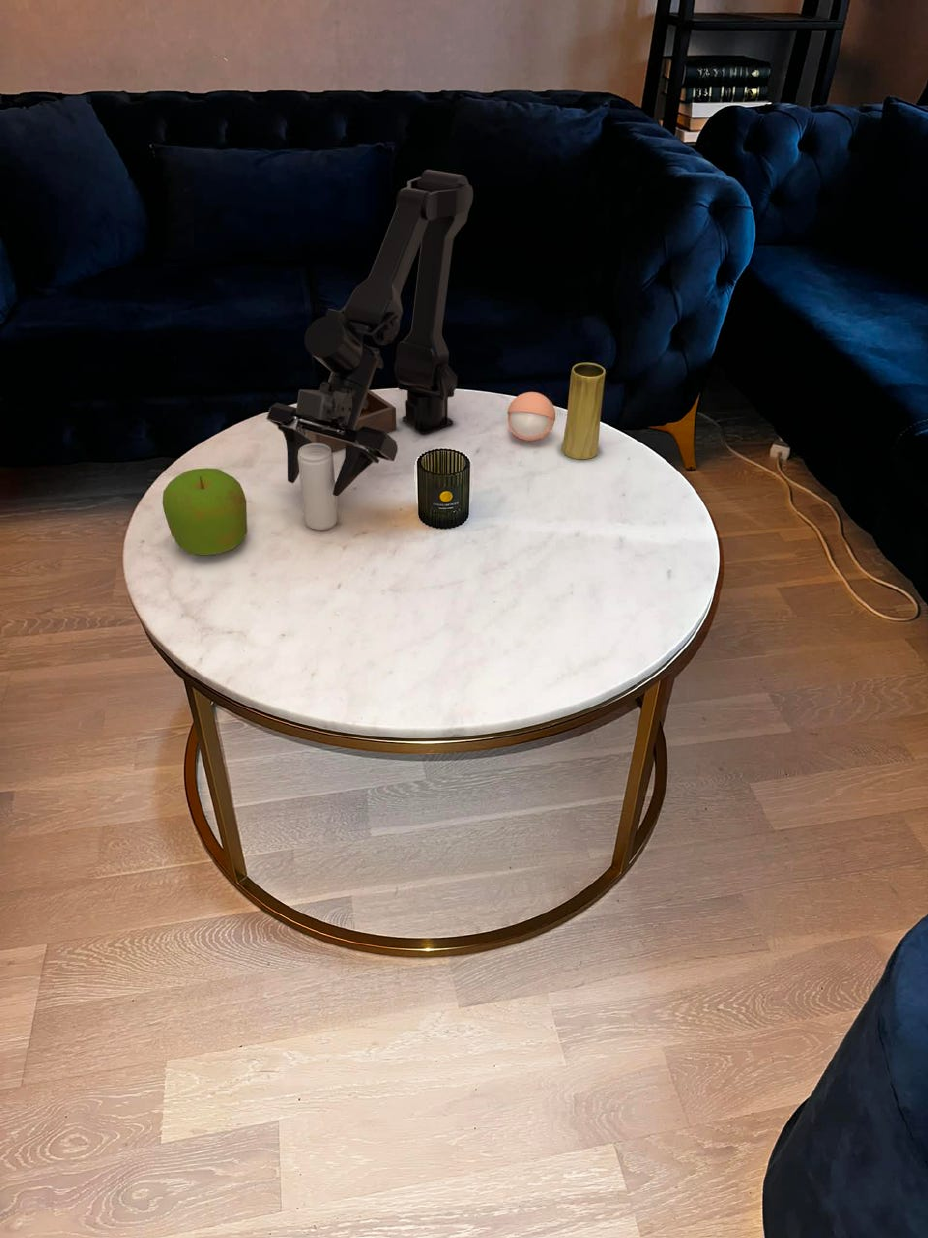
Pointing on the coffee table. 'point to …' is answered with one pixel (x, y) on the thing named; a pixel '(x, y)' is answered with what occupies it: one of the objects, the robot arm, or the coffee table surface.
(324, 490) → the beverage can
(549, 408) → the toy ball
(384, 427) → the brown wooden divided box
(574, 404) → the vase
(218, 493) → the apple
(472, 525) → the coffee table surface
